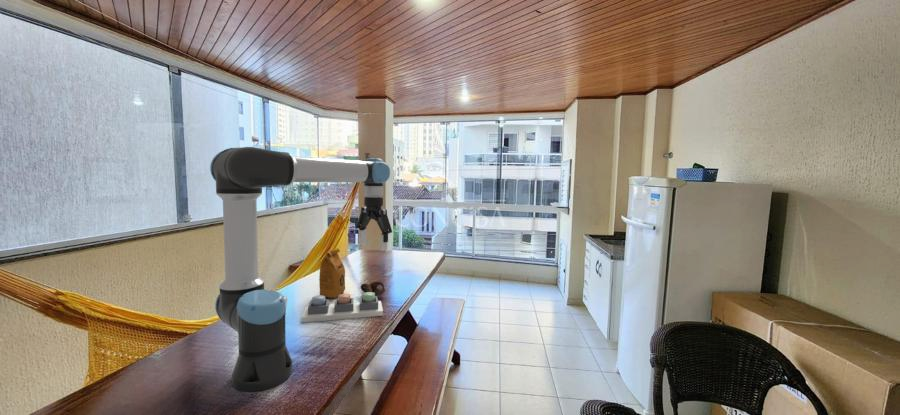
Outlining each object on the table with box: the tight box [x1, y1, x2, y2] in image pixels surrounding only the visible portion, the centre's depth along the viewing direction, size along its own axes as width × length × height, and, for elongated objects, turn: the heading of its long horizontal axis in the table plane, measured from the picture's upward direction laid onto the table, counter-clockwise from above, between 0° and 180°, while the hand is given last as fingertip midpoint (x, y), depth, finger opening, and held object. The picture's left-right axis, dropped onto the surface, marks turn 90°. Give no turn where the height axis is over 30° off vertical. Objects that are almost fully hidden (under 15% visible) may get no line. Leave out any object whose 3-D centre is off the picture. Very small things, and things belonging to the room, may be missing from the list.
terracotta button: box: [337, 293, 352, 304], centre depth 142 cm, size 5×5×3 cm
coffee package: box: [318, 248, 346, 299], centre depth 163 cm, size 10×12×22 cm
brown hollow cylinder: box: [360, 280, 386, 298], centre depth 163 cm, size 12×10×8 cm
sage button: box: [362, 292, 375, 303], centre depth 144 cm, size 5×5×3 cm
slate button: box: [311, 294, 326, 306], centre depth 139 cm, size 5×5×3 cm
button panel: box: [301, 296, 384, 323], centre depth 142 cm, size 31×12×5 cm, turn 106°
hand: (373, 247), depth 141 cm, fingers open, 13 cm apart
